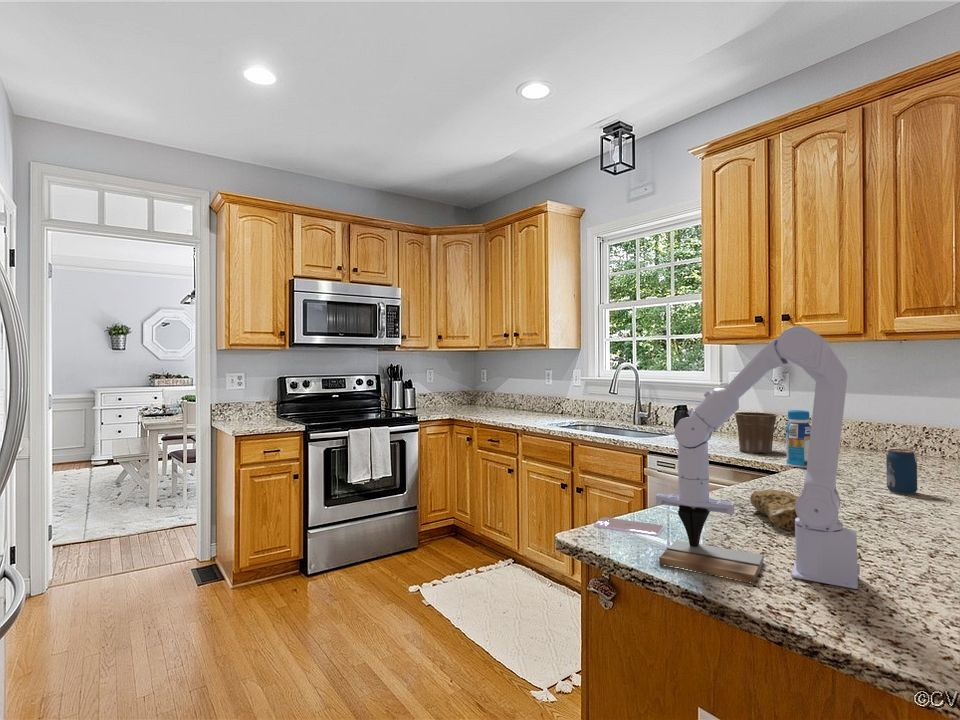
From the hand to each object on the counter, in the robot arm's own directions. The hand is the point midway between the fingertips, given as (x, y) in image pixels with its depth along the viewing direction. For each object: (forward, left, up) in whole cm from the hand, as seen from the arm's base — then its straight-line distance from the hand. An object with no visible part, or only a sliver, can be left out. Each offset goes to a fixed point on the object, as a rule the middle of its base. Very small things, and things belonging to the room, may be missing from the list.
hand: (694, 545), depth 107 cm
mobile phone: (+17, -10, -2) cm, 19 cm away
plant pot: (+7, -141, -2) cm, 142 cm away
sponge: (-12, -34, -2) cm, 36 cm away
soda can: (-38, -83, -2) cm, 92 cm away
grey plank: (-4, +2, -1) cm, 5 cm away
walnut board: (-4, +8, -1) cm, 9 cm away
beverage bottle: (-11, -114, -2) cm, 115 cm away
